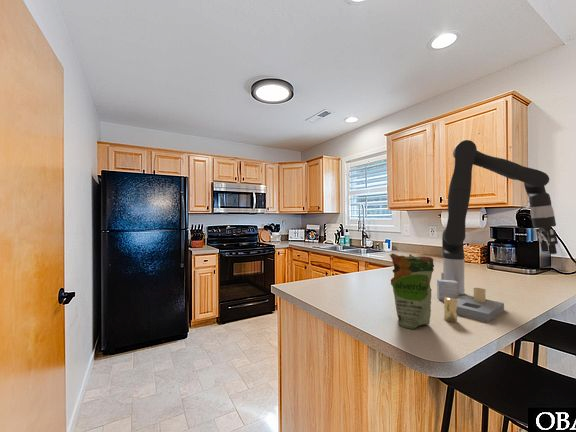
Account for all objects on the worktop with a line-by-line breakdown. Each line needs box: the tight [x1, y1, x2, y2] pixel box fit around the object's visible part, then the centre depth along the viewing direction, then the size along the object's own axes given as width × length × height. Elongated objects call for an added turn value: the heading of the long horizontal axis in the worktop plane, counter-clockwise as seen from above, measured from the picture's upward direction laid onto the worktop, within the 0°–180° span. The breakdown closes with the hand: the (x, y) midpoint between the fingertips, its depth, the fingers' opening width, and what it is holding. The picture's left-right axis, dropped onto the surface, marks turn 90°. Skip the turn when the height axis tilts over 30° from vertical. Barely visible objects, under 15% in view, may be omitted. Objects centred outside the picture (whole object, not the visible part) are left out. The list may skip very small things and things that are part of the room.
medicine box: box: [436, 279, 460, 301], centre depth 122 cm, size 8×4×9 cm, turn 71°
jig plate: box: [457, 287, 505, 323], centre depth 108 cm, size 14×20×8 cm
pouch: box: [389, 253, 435, 330], centre depth 94 cm, size 11×12×25 cm
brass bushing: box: [443, 297, 458, 324], centre depth 98 cm, size 4×4×8 cm
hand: (549, 252), depth 118 cm, fingers open, 8 cm apart
